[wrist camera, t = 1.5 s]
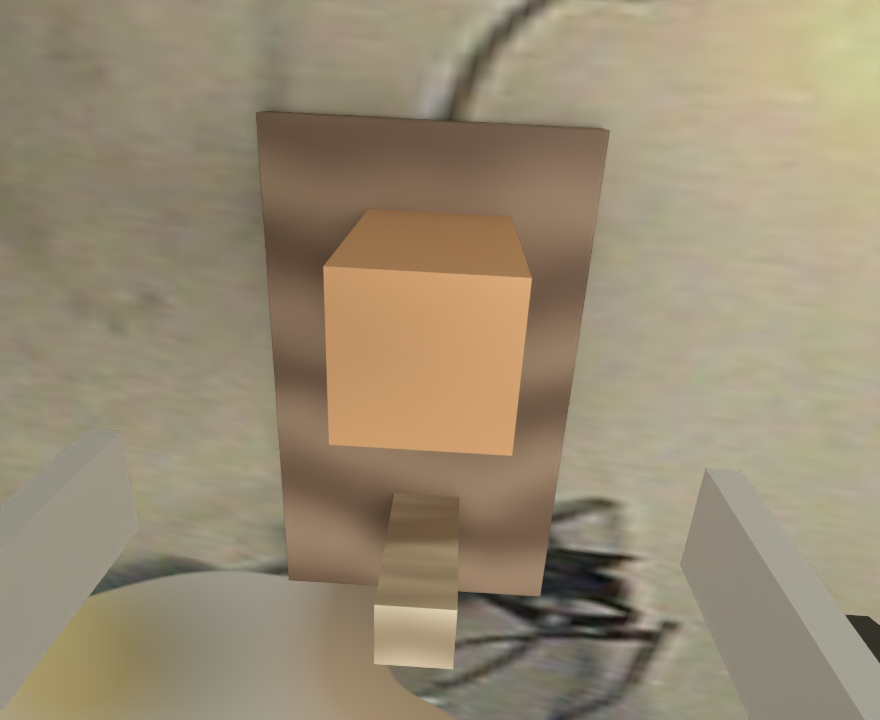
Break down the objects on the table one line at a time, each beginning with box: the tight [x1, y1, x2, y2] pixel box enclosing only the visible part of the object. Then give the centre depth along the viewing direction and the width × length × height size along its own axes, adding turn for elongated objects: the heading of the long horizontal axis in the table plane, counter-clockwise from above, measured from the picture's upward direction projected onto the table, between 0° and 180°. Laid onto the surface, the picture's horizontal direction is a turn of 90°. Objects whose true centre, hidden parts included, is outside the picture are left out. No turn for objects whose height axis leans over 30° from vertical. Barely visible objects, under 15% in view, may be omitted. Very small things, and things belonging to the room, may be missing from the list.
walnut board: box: [256, 111, 610, 596], centre depth 32 cm, size 26×15×2 cm, turn 177°
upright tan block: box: [323, 209, 532, 456], centre depth 25 cm, size 6×6×10 cm
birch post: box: [374, 493, 459, 669], centre depth 31 cm, size 4×4×8 cm
